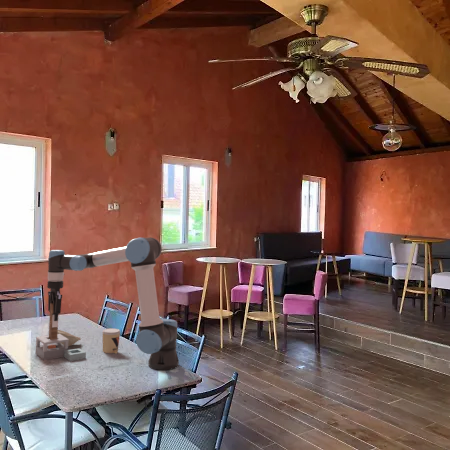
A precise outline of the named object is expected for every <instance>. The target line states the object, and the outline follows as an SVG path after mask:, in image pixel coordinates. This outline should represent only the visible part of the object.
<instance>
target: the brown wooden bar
mask: <svg viewBox="0 0 450 450" xmlns="http://www.w3.org/2000/svg"><path fill="white" fill-rule="evenodd" d="M52 314H53V303H51V304H50V312H49V320H48V321H49V323H48V324H49V325H48V335H49V340H53V339H57V335H58V330H59V329H58V328H59V326H58V327H52V317H53V315H52Z"/></svg>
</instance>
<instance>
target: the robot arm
mask: <svg viewBox="0 0 450 450" xmlns="http://www.w3.org/2000/svg"><path fill="white" fill-rule="evenodd" d="M162 249H163V248H162V243H160V241H159V240H158V239H156V238H154V237H137V238H133V239H131V240H130V241H129V242H128V243H127V245H126V246H122V247H117V248H111V249H107V250H102V251H101V250H100V251H97V252H91V253H85V254H84V253H83V254H65V253H66V252H65V250H62V249H51V250H50V251H48V252H49V253H48V257H47V258H48V261H47V263H48V265H47V266H48V267H47V268H48V269H47V286H46V287H47V289H50V290H49V291H48V292H47V295H48V296H47V297H48V299H47V300H48V305H47V308H48V309H47V311H48V312H49V313H50V304H51V303H53V314H52V315H53V317H52V327H58V328H59V315H60V314H61V312H62V310H61V309H62V298H63V294H61V289H63V288H64V276H65V270H66V271H67V270H69V271H76V272H77V271H84V269H94V268H96V267H101V266H107V265H115V264H119V263H125V262H130V266H131V267H130V268H131V269H132V270H133V271H135V272H134V275H135V281H136V288H137V289H136V290H137V297H138V303H139V313H140V323H138V330H139V331H138V333H137V335H136V338H135V342H136V347H137V348H138V349H139V350H140V351H141V352H142V353H144V354H146V355H150V356H149V359H148V364H147V365H148V367H149V368H151V369H153V370H158V371H169V370H174V369H177V368H178V367H179V365H180V361H179V356H178V353H177V341H178V340H177V336H178V322H177V320H174V319H170V318H160V311H159V310H160V309H159V303H158V294H157V287H156V281H155V280H156V279H155V272H154V267H156V265H157V262H156V260H157V259H158V258H160V256H161V254H162Z"/></svg>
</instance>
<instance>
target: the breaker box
mask: <svg viewBox="0 0 450 450" xmlns="http://www.w3.org/2000/svg"><path fill="white" fill-rule="evenodd" d="M60 342H64V345H63V344H61V343H60ZM68 342H69V339H67V338H66V337H64V336H62V335H61V334H58V335H57V339H53V340H50V339H49V334H48V335H41V336H40V335H39V336H36V340H35V355H36V356H38V357H39V358H40V359H42V360H43V361H44V360H45V361H47V360H52V359H57V358H65V357H64V351H65V350H69V346H68ZM49 345H56V348H51V349H48V346H49Z"/></svg>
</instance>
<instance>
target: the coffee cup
mask: <svg viewBox="0 0 450 450" xmlns="http://www.w3.org/2000/svg"><path fill="white" fill-rule="evenodd" d="M120 336H121V330H120V329H119V328H113V327H111V328H104V329H103V330H102V352H103V353H105V354H115V355H117V354H118V353H119V343H120Z"/></svg>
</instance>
